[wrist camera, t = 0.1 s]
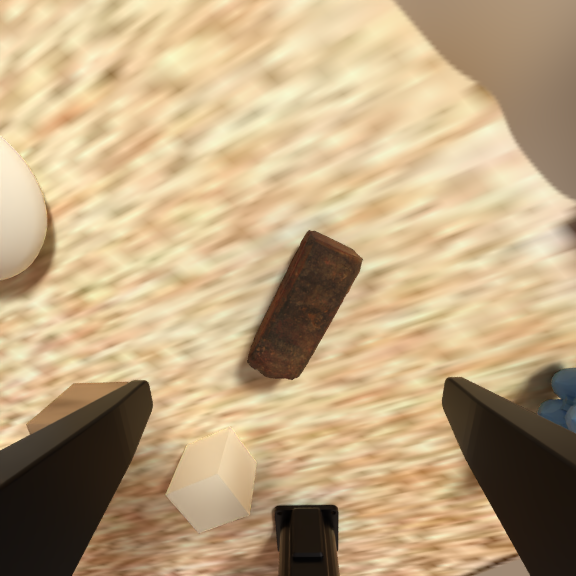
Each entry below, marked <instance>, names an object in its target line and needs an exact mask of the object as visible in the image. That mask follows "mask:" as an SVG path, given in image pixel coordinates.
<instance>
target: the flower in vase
mask: <svg viewBox="0 0 576 576" xmlns="http://www.w3.org/2000/svg"><path fill="white" fill-rule="evenodd" d="M46 231H47V210H46V204H45V200H44V196H43V193H42V191H41V188H40V185H39V183H38V181H37V179H36V177H35V175H34V174H33V172H32V171H31V169H30V167H29V166H28V164H27V163H26V162H25V161H24V159H23V158H22V157H21V155H20V154H19V153H18V152H17V151H16V150H15V149H14V148H13V147H12V146H11V145H10V144H9V143H8V142H7V141H6V140H5V139H4V138H3V137H2V136H0V280H5V279H8V278H11V277H14V276H16V275H18V274H20V273H21V272H23V271H24V270H26V269H27V268H28V267H29V266H30V265H31V264H32V263H33V261H34V260H35V259H36V257H37V256H38V254H39V252H40V250H41V248H42V245H43V243H44V240H45V237H46Z"/></svg>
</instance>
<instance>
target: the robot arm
mask: <svg viewBox="0 0 576 576" xmlns="http://www.w3.org/2000/svg"><path fill="white" fill-rule="evenodd" d="M442 406H443V409H444V412H445V414H446V416H447V419H448V421H449V423H450V425H451V428H452V430H453V432H454V435H455V437H456V439H457V441H458V444H459V446H460V448H461V451H462V453H463V455H464V457H465V459H466V461H467V463H468V465H469V467H470V468H471V470H472V472H473V474H474V476H475V477H476V479H477V481H478V483H479V485H480V486H481V488H482V490H483V492H484V494H485V495H486V497H487V499H488V501H489V502H490V504H491V506H492V508H493V510H494V511H495V513H496V515H497V517H498V519H499V520H500V522H501V524H502V526H503V528H504V529H505V531H506V533H507V535H508V536H509V538H510V540H511V542H512V544H513V545H514V547H515V549H516V551H517V553H518V554H519V556H520V558H521V560H522V562H523V563H524V565H525V567H526V569H527V571H528V572H529V574H530V576H576V433H574V432H572V431H570V430H568V429H566V428H564V427H562V426H560V425H558V424H555V423H553V422H551V421H549V420H547V419H545V418H543V417H541V416H539V415H537V414H535V413H533V412H531V411H529V410H527V409H525V408H523V407H521V406H519V405H517V404H515V403H513V402H511V401H509V400H507V399H505V398H503V397H501V396H499V395H497V394H495V393H493V392H491V391H489V390H487V389H485V388H483V387H481V386H479V385H477V384H475V383H473V382H470V381H468V380H466V379H464V378H462V377H448V378H447V379H446V380H445V384H444V390H443V397H442ZM152 408H153V401H152V396H151V391H150V386H149V383H148V382H147V381H146V380H134V381H131V382H129V383H127V384H125V385H124V386H122V387H120V388H118V389H116V390H114V391H112V392H110V393H108V394H106V395H105V396H103V397H101V398H99V399H97V400H95V401H93V402H91V403H89V404H88V405H86V406H84V407H82V408H80V409H78V410H76V411H74V412H72V413H70V414H69V415H67V416H65V417H63V418H61V419H59V420H57V421H55V422H53V423H52V424H50V425H48V426H46V427H44V428H42V429H40V430H38V431H36V432H34V433H33V434H31V435H29V436H27V437H25V438H23V439H21V440H19V441H17V442H16V443H14V444H12V445H10V446H8V447H6V448H4V449H2V450H0V576H72V574H73V573H74V571H75V569H76V567H77V565H78V563H79V561H80V559H81V557H82V555H83V553H84V551H85V549H86V548H87V546H88V544H89V542H90V540H91V538H92V536H93V534H94V532H95V530H96V528H97V526H98V524H99V523H100V521H101V519H102V517H103V515H104V513H105V511H106V509H107V507H108V505H109V503H110V501H111V499H112V497H113V496H114V494H115V492H116V490H117V488H118V486H119V484H120V482H121V480H122V478H123V476H124V474H125V472H126V471H127V469H128V467H129V465H130V463H131V461H132V458H133V456H134V454H135V451H136V449H137V446H138V444H139V441H140V439H141V437H142V434H143V432H144V429H145V427H146V424H147V422H148V419H149V417H150V414H151V412H152ZM275 523H276V534H277V546H278V551H279V571H278V576H340V574H339V566H338V557H337V551H338V507H337V506H334V505H322V506H277V507H276V508H275Z"/></svg>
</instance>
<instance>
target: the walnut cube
mask: <svg viewBox="0 0 576 576" xmlns="http://www.w3.org/2000/svg"><path fill="white" fill-rule="evenodd" d="M127 383H128V382H110V383H75V384H73V385H71V386H70V387H69V388H68V389H67V390H66V391H64V392H63V393H62V394H61V395H60V396H59V397H58V398H56V399H55V400H54V401H53V402H52V403H51V404H49V405H48V406H47V407H46V408H45V409H44V410H42V411H41V412H40V413H39V414H38V415H37V416H35V417H34V418H33V419H32V420H31V421H30V422H28V423H27V424H26V425H27V428H28V430H29V433H30V435H31V434H33V433H34V432H36V431H38V430H40V429H42V428H44V427H46V426H48V425H50V424H52V423H53V422H55V421H57V420H59V419H61V418H63V417H65V416H67V415H69V414H70V413H72V412H74V411H76V410H78V409H80V408H82V407H84V406H86V405H88V404H89V403H91V402H93V401H95V400H97V399H99V398H101V397H103V396H105V395H106V394H108V393H110V392H112V391H114V390H116V389H118V388H120V387H122V386H124V385H125V384H127Z"/></svg>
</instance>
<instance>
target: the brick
mask: <svg viewBox="0 0 576 576" xmlns="http://www.w3.org/2000/svg"><path fill="white" fill-rule="evenodd" d="M362 260H363V259H362V258H361V257H360V256H359V255H358V254H357V253H356V252H355V251H354V250H353V249H351V248H349V247H347V246H345V245H343V244H341V243H339V242H337V241H335V240H333V239H331V238H329V237H327V236H325V235H322V234H320V233H318V232H316V231H310V230H309V231H308V232H307V233H306V235H305V236H304V238H303V240H302V241H301V243H300V247H299V249H298V251H297V253H296V254H295V256H294V258H293V260H292V262H291V264H290V266H289V268H288V271H287V273H286V274H285V276H284V278H283V280H282V282H281V284H280V286H279V288H278V291H277V293H276V295H275V297H274V299H273V301H272V303H271V305H270V307H269V309H268V311H267V313H266V315H265V317H264V319H263V321H262V323H261V326H260V328H259V330H258V332H257V334H256V336H255V338H254V342H253V344H252V346H251V349H250V352H249V355H248V360H247V363H249V365H250V366H251V367H252V368H254V369H257V370H258V371H260V373H261V374H263V375H264V376H266V377H269V378H281V379H282V378H287V379H290V380H293V379H294V378H298V377H299V376H300V374H301V373H302V372H303V370H304V368H305V367H306V365H307V364H308V362H309V359H310V358H311V356H312V355H313V353H314V352H315V350H316V348H317V346H318V344H319V342H320V341H321V339H322V337H323V336H324V334H325V332H326V330H327V329H328V327H329V325H330V323H331V321H332V319H333V318H334V316H335V314H336V313H337V311H338V309H339V307H340V305H341V304H342V302H343V300H344V297H345V296H346V294H347V293H348V292H349V290H350V288H351V286H352V284H353V282H354V280H355V278H356V277H357V275H358V273H359V272H360V268H361V264H362Z"/></svg>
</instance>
